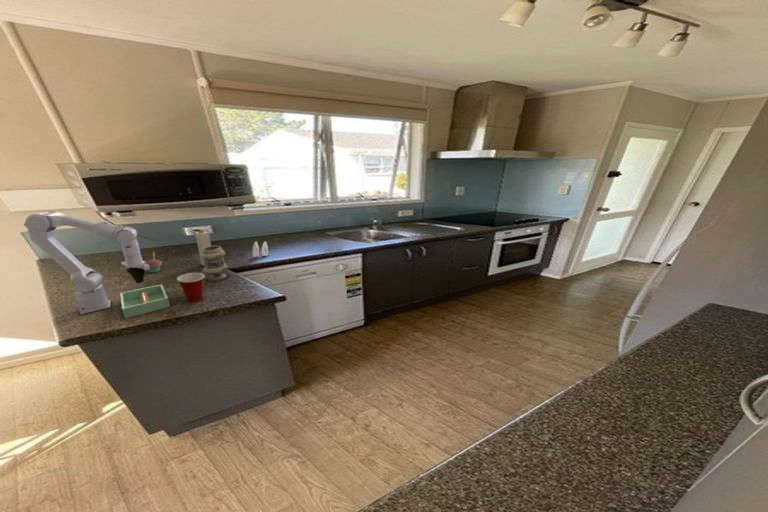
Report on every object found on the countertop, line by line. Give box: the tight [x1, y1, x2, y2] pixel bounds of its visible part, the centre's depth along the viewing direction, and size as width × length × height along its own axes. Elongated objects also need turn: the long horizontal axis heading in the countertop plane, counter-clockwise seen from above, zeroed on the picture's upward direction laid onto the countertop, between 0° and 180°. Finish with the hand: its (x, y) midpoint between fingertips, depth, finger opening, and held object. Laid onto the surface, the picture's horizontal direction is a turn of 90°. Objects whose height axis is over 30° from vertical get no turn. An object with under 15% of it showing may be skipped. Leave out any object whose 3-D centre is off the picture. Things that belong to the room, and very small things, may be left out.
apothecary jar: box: [201, 245, 229, 282], centre depth 159 cm, size 12×12×18 cm
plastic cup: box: [176, 272, 206, 303], centre depth 135 cm, size 11×11×12 cm
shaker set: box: [252, 241, 269, 259], centre depth 196 cm, size 12×4×11 cm, turn 144°
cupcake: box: [145, 252, 163, 273], centre depth 167 cm, size 9×8×12 cm
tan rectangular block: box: [139, 291, 150, 303], centre depth 132 cm, size 3×15×8 cm, turn 43°
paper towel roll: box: [195, 230, 212, 267], centre depth 178 cm, size 7×6×21 cm
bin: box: [119, 283, 171, 319], centre depth 131 cm, size 16×20×4 cm
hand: (140, 282), depth 132 cm, fingers closed
